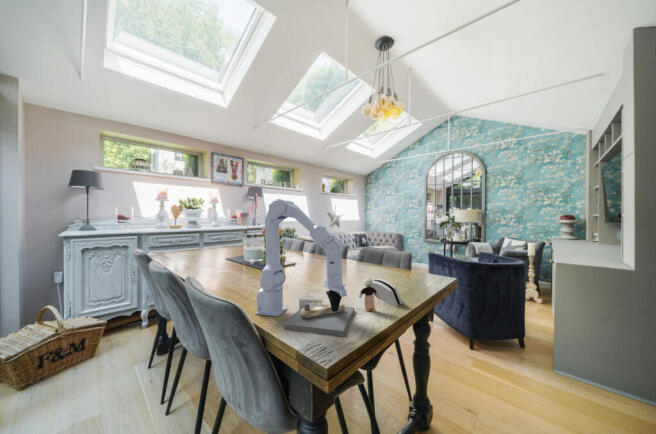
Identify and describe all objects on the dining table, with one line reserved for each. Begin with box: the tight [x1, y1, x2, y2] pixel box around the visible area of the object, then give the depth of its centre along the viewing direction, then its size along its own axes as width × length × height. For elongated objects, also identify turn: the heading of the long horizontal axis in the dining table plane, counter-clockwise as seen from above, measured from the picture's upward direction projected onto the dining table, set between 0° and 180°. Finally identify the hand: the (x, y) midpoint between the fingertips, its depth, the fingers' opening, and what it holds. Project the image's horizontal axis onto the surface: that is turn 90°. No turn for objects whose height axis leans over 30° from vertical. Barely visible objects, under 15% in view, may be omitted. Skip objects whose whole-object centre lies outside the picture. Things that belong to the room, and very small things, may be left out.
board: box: [283, 303, 355, 337], centre depth 82 cm, size 20×20×2 cm
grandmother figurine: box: [358, 277, 379, 313], centre depth 90 cm, size 8×4×13 cm, turn 108°
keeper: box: [298, 297, 323, 311], centre depth 87 cm, size 8×2×4 cm, turn 74°
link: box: [301, 302, 346, 318], centre depth 83 cm, size 16×4×4 cm, turn 112°
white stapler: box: [371, 278, 406, 307], centre depth 101 cm, size 17×5×10 cm, turn 24°
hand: (335, 311), depth 82 cm, fingers closed
